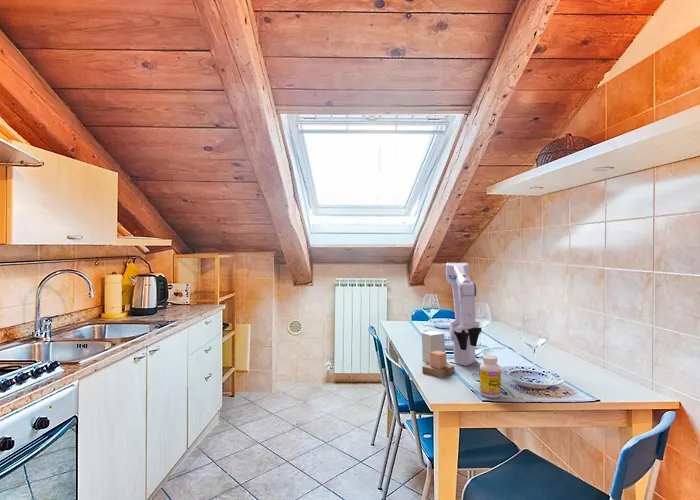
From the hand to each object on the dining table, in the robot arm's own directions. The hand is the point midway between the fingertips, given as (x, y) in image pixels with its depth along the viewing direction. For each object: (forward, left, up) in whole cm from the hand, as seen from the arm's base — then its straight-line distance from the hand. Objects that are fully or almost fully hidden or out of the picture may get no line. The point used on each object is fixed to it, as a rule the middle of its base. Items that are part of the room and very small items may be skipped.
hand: (468, 347), depth 152 cm
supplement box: (-5, -20, -11) cm, 23 cm away
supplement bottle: (+14, +16, -11) cm, 24 cm away
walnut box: (+6, -10, -11) cm, 16 cm away
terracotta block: (+6, -10, -8) cm, 14 cm away
